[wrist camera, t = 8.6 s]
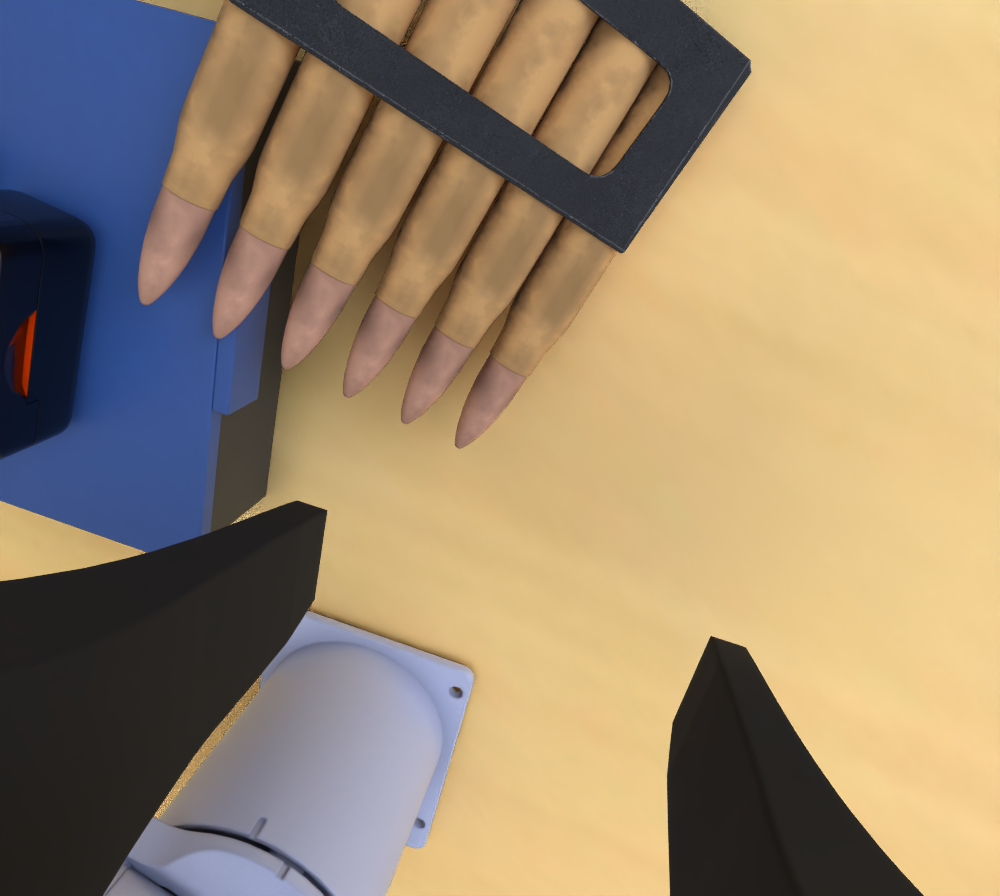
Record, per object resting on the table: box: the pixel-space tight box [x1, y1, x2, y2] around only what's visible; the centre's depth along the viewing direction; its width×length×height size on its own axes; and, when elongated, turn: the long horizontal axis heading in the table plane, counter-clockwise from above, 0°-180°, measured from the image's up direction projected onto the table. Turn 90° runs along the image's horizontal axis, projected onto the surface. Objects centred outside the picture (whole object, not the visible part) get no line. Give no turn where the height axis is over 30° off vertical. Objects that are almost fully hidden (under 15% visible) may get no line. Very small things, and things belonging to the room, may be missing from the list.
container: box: [0, 0, 302, 552], centre depth 22 cm, size 15×12×5 cm
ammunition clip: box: [138, 0, 751, 449], centre depth 17 cm, size 11×2×12 cm
